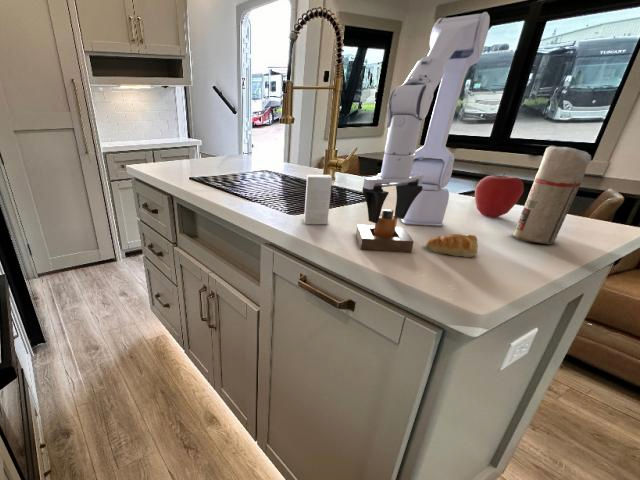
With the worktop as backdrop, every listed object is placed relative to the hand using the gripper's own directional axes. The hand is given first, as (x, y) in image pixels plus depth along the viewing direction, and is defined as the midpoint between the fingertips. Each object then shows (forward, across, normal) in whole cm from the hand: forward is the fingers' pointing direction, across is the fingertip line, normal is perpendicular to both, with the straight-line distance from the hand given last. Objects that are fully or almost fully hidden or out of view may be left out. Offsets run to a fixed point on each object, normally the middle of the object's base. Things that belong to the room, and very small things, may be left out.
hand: (386, 219), depth 79 cm
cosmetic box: (+6, +4, -20) cm, 21 cm away
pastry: (+6, -10, +10) cm, 15 cm away
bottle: (+5, 0, 0) cm, 5 cm away
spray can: (+6, -34, +13) cm, 37 cm away
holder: (+5, 0, 0) cm, 5 cm away
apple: (+6, -45, -5) cm, 46 cm away
